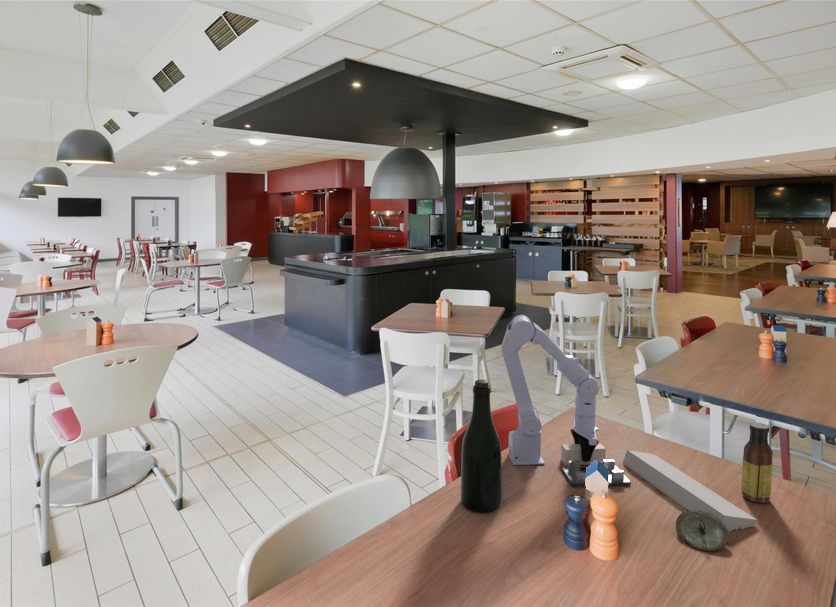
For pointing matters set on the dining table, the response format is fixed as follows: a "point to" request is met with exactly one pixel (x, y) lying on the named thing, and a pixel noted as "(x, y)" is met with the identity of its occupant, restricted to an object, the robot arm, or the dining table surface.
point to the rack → (578, 474)
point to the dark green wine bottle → (481, 456)
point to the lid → (702, 530)
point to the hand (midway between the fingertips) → (583, 457)
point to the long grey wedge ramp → (686, 490)
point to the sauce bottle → (757, 465)
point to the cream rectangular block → (574, 453)
